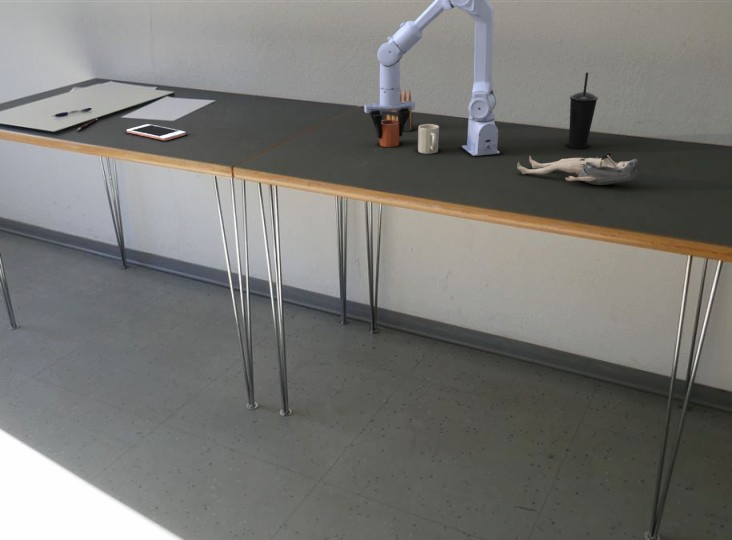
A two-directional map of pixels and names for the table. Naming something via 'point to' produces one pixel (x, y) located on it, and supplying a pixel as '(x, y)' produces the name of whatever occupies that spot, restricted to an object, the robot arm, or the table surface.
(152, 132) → the cell phone
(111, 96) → the table surface
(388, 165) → the table surface
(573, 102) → the drinking cup
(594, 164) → the anime figure
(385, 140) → the terracotta cup
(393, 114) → the ammunition clip
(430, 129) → the cream cup
